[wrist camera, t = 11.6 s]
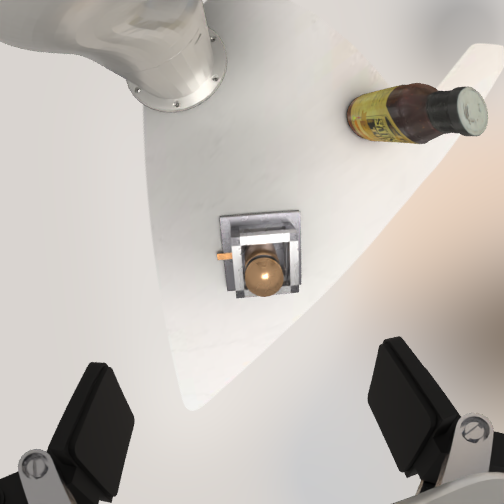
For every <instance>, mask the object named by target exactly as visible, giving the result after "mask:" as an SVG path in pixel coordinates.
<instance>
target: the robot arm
mask: <svg viewBox="0 0 504 504" xmlns="http://www.w3.org/2000/svg"><path fill="white" fill-rule="evenodd" d="M212 39H214V40H215V41H213V42H212V41H211V40H212ZM0 41H1V42H3V43H5V44H8V45H11V46H14V47H18V48H21V49H27V50H32V51H37V52H48V53H63V54H76V55H80V56H83V57H86V58H89V59H91V60H93V61H95V62H97V63H98V64H100V65H102V66H104V67H106V68H107V69H109V70H111V71H113V72H114V73H116V74H118V75H120V76H121V77H123V78H125V79H126V81H127V84H128V87H129V89H130V91H131V92H132V94H133V95H134V97H135V98H137V100H138V101H139V102H141V103H142V104H144V105H146V106H147V107H149V108H152V109H155V110H158V111H163V112H178V111H183V110H187V109H190V108H193V107H195V106H197V105H199V104H201V103H202V102H204V101H205V100H207V99H208V98H209V97H210V96H211V95H212V94H213V93H214V92H215V91H216V90H217V88H218V87H219V85H220V84H221V82H222V80H223V78H224V75H225V71H226V68H227V55H226V50H225V47H224V44H223V42H222V40H221V39H220V37H219V36H218V35H217V34H216V33H215V32H214V31H213V30H212V29H210V28H209V27H208V26H207V22H206V17H205V13H204V8H203V2H202V0H0ZM214 78H217V79H218V80H217V81H213V79H214ZM139 89H140V90H141V91H140V92H139V93H138V90H139ZM176 104H179V107H176ZM368 404H369V406H370V408H371V410H372V412H373V414H374V416H375V419H376V421H377V423H378V425H379V427H380V429H381V431H382V434H383V436H384V438H385V440H386V442H387V445H388V447H389V449H390V451H391V453H392V456H393V458H394V460H395V462H396V464H397V467H398V469H399V471H400V472H405V475H406V477H407V478H408V477H410V476H413V475H416V474H418V475H419V476H420V479H421V482H420V485H419V487H418V490H417V493H416V495H415V496H412V497H410V498H407V499H404V500H401V501H398V502H396V503H393V504H504V434H503V433H499V432H494V431H493V425H492V423H491V421H490V420H489V419H488V418H487V417H485V416H484V415H482V414H479V413H469V414H466V415H464V416H463V417H461V416H460V415H459V413H458V412H457V410H456V409H455V408H454V406H453V405H452V403H451V402H450V400H449V399H448V398H447V396H446V395H445V393H444V392H443V391H442V389H441V388H440V387H439V385H438V384H437V382H436V381H435V380H434V378H433V377H432V376H431V374H430V373H429V372H428V370H427V369H426V368H425V367H424V366H423V365H422V363H421V362H420V361H419V360H418V358H417V357H416V356H415V354H414V353H413V352H412V350H411V349H410V348H409V346H408V345H407V344H406V343H405V341H404V340H403V339H402V338H401V337H394V338H389V339H385V340H384V341H383V344H381V345H380V346H379V349H378V355H377V359H376V363H375V368H374V372H373V376H372V381H371V385H370V389H369V393H368ZM133 427H134V416H133V413H132V412H131V409H130V407H129V405H128V403H127V401H126V399H125V397H124V395H123V392H122V390H121V388H120V386H119V383H118V382H117V379H116V377H115V374H114V372H113V370H112V368H111V367H108V365H107V364H106V363H97V362H95V363H94V362H91V363H90V364H89V365H88V367H87V368H86V370H85V372H84V374H83V376H82V378H81V380H80V382H79V384H78V386H77V388H76V390H75V392H74V394H73V396H72V398H71V400H70V402H69V404H68V406H67V408H66V410H65V412H64V414H63V416H62V418H61V420H60V422H59V425H58V427H57V429H56V431H55V433H54V435H53V437H52V440H51V442H50V444H49V446H48V450H47V452H46V451H43V450H41V449H34V450H30V451H28V452H26V453H25V454H24V455H23V456H22V457H21V459H20V460H19V464H18V472H16V473H13V474H11V475H9V476H6V477H4V478H2V479H0V504H98V503H99V500H101V501H105V502H110V503H111V502H112V498H113V496H116V495H117V493H118V488H119V484H120V479H121V475H122V471H123V467H124V462H125V458H126V454H127V450H128V446H129V442H130V439H131V435H132V431H133Z"/></svg>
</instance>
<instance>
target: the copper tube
mask: <svg viewBox="0 0 504 504" xmlns="http://www.w3.org/2000/svg"><path fill="white" fill-rule="evenodd" d="M283 281H284V276H283V271H282V267H281V265H280V262H279V259H278V256H277V253H276V250H275V247H274V246H273V244H272V243H266V244H254V245H248V246H247V247H246V250H245V283H246V286H247V288H248V289H249V291H250V292H252V293H253V294H255V295H257V296H261V297H266V296H271V295H273V294H275V293H276V292H278V291H279V290H280V288H281V287H282V285H283Z"/></svg>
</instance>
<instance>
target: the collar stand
mask: <svg viewBox="0 0 504 504" xmlns="http://www.w3.org/2000/svg"><path fill="white" fill-rule="evenodd" d="M220 226H221V236H222V245H223V253H222V254H217V258H218V260H224V264H225V274H226V283H227V291H236V298H244V297H255V296H257V295H255V294H253V293H252V292H250V291H249V289H248V288H247V286H246V283H245V250H246V247H247V246H248V245H254V244H266V243H272V244H273V246H274V247H275V250H276V253H277V256H278V259H279V262H280V265H281V267H282V271H283V276H284V281H283V285H282V287H281V288H280V290H279V291H278V292H276V293H275V294H273V295H277V294H287V293H296V292H299V285H300V284H301V223H300V211H299V210H296V211H282V212H268V213H255V214H242V215H230V216H220Z"/></svg>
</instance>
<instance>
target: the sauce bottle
mask: <svg viewBox="0 0 504 504" xmlns="http://www.w3.org/2000/svg"><path fill="white" fill-rule="evenodd" d="M347 119H348V122H349V125H350V127H351V128H352V130H353V131H354V132H355V133H356V134H357V135H358V136H360V137H361V138H364V139H367V140H370V141H383V142H400V143H414V144H425V143H427V142H428V141H430V140H432V139H434V138H436V137H438V136H440V135H442V134H446V133H460V134H462V135H464V136H479V135H481V134H482V133H483V132H484V130H485V129H486V126H487V122H488V112H487V108H486V104H485V102H484V99H483V98H482V96H481V95H480V93H479V92H477V91H476V90H475V89H473V88H472V87H458V88H455V89H453V90H451V91H437V89H436V88H434V87H432V86H429V85H426V84H421V83H414V84H409V85H400V86H396V87H391V88H387V89H383V90H379V91H375V92H371V93H367V94H364V95H362V96H360V97H357V98H356V99H354V101H353V102H352V103H351V104H350V106H349V108H348V112H347Z"/></svg>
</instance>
